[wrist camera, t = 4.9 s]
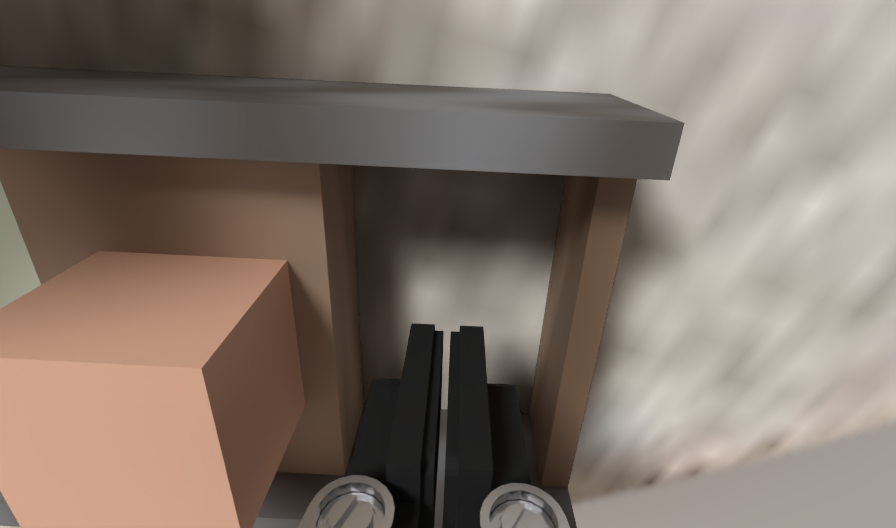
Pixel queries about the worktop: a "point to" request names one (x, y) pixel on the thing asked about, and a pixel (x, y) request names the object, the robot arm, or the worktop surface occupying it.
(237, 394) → the terracotta block
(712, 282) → the worktop surface
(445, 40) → the worktop surface
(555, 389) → the box
